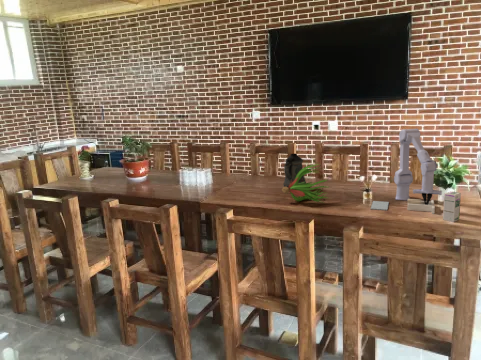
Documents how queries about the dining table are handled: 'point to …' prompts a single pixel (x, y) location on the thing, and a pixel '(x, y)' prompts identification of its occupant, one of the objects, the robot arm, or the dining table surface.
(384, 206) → the slate board
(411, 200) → the birch block
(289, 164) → the dark grey backpack
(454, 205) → the syrup box
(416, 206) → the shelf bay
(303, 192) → the decorative plant
